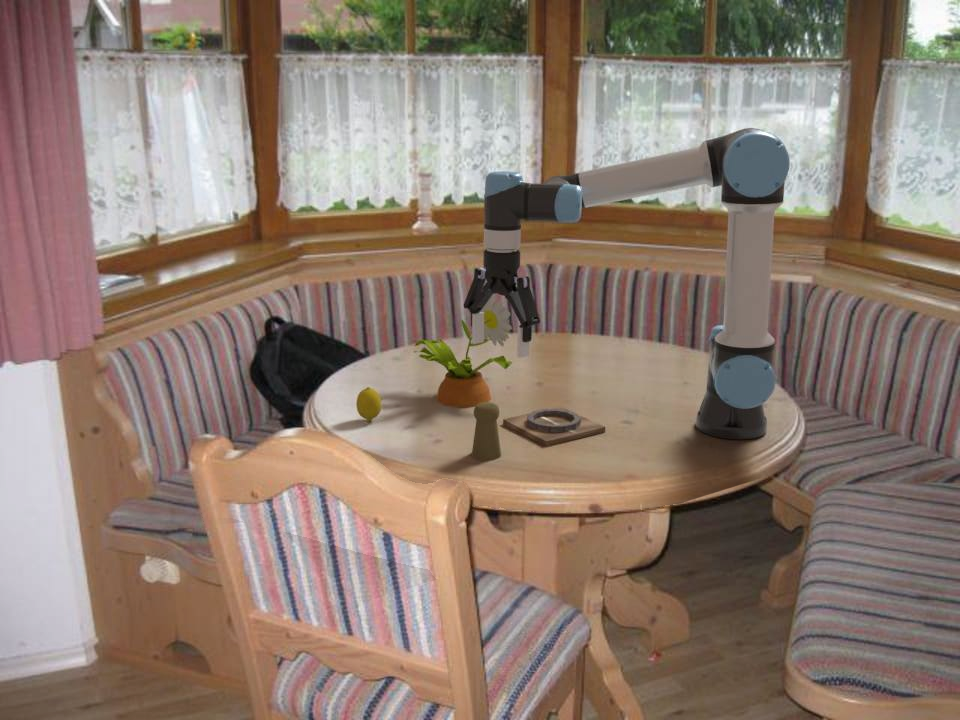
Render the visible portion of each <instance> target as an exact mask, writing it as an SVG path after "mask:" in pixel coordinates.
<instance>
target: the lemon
mask: <svg viewBox="0 0 960 720" xmlns="http://www.w3.org/2000/svg"><path fill="white" fill-rule="evenodd" d="M356 409H357V410H356V411H357V413H358V414H359V416H360V417H361V418H362V419H365V420H367V422H371V421H372V420H373V419H375V418H376V417H378V416H379V414H380V413H381V410H382V399H381V396H380V394H379V392H378V391H377V390H376V389H374V388H372V387H370V386H367V387H366V388H364V389H362V390H361V391H359V393H358V395H357V398H356Z"/></svg>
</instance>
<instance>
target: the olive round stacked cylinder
mask: <svg viewBox="0 0 960 720" xmlns="http://www.w3.org/2000/svg"><path fill="white" fill-rule="evenodd" d="M499 416H500V408H499V406H498V404H496V403H494V402H491V401H489V402H482V403H479V404H477V405H476V406H475V407H474V408H473V417H474V418H475V420H476V421H475V427H474V428H475V429H474V434H473V435H474V437H473V444H472V448H471V449H472V451H471V457H473V459H476V460H481V461H492V460H493V461H494V460H497V459H499V458H500V457H502V449H501V444H500V435H499V429H498V419H499Z"/></svg>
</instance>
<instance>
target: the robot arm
mask: <svg viewBox="0 0 960 720" xmlns="http://www.w3.org/2000/svg"><path fill="white" fill-rule="evenodd" d="M790 164H791V163H790V155H789V151H788V150H787V148H786V146H785V144H784V142H783V141H782V140H781V139H780V138H779V137H778V136H776V135H775V134H773V133H771V132H769V131H766V130H764V129H760V128H755V127H747V128H743V129H739V130H736V131H734V132H731V133H728V134H726V135H725V134H724V135H722V136H718V137H715V138H711V139H706V140H703V141H702V142H701V144H699V146H697V147H694V148H689V149H684V150H680V151H675V152H670V153H665V154H661V155H660V154H659V155H655V156H649V157H647V158H641V159H637V160H631V161H627V162H623V163H616V164H614V165H607V166H603V167H598V168H593V169H588V170H584V171H581V172H577V173H571V174H565V175H561V174H560V175H559V174H558V175H555V176H552V177H550V178H548V179H547V180H545V182H543V183H532V182H531V183H530V182H524V179H523V174H522V173H521V172H517V171H508V170H507V171H505V170H502V171H498V170H497V171H491V172H488V174H487V175H486V177H485V184H484V194H483V199H484V200H483V207H484V208H483V209H484V210H483V213H484V215H483V218H484V222H483V224H484V225H483V227H484V228H483V247H484V248H485V249H484V251H483V263H482V265H483V266H482V267H476V268H475V269H474V273H473V279H472V282H471V284H470V287H469V290H468V293H467V295H466V297H465V299H464V303H463V308H464V309H468V310H469V313H470V327H471V337H472V340H471V343H472V344H477V343H482V342H484V312H480V311H483V310H482V308H483V307H484V306H485V304H486V303H487V302H488V300H489V299H490V297H491V296H492V297H493V295H494V294H498V295H500V296H502V297H503V296H504V298H505V299H506V300H508V302H509V305H510V306H511V308H512V309H513V311H514V313H515V316H516V318H517V319H518V321H519V324H520V325H518V326H517V350H516V351H517V353H516V356H517V358H519V359H521V358H525V357H529V356H530V342H532V338H533V336H532V333H533V327H534V326H535V325H539V324H540V323H541V318H540V316H539V312H538V308H537V306H536V303H535V299H534V296H533V294H532V290H531V282H530V277H529V276H522V277H521V276H519V275H518V271H519V269H520V268H521V251H520V249H519V248H521V238H522V237H521V235H522V234H521V233H522V221H523V222H524V221H525V222H529V221H531V222H546V223H547V222H548V223H561V224H565V223H577V222H579V221H580V220H581V216H582V209H583V210H584V209H586V208H590V207H591V208H592V207H596V206H601V205H606V204H610V203H617V202H620V201H625V200H631V199H635V198H641V197H645V196H650V195H656V194H660V193H666V192H670V191H675V190H681V189H682V190H683V189H685V188H690V187H696V186H701V185H707V186H709V187H710V188H716V187H720V186H721V191H720V193H721V195H720V196H721V198H720V203H721V204H722V205H723V206H724V207H725V208H726V210H727V211H728V217H727V219H728V221H727V237H726V238H727V241H726V259H725V261H726V262H725V283H724V285H725V286H724V302H723V303H724V305H723V324H720V325H716V326H713V327H712V328H711V330H710V335H709V337H708V340H709V350H708V364H707V376H706V377H707V378H706V391H705V394H704V396H703V399H702V401H701V405H700V407H699V410H698V411H697V412H696V419H695V420H696V421H695V427H696V428H697V430H699V431H700V432H702V433H704V434H706V435H709V436H711V437H712V436H713V437H714V438H715V437H716V438H719V439H727V440H728V439H729V440H749V439H750V440H752V439H757V438H759V437H762V436H764V435H765V434H766V433H767V429H768V419H767V417H766V415H765V411H764V405H763V404H764V403H765V402H767V401H768V399H770V397H771V396H772V395H773V393H774V391H775V388H776V382H777V376H776V372H775V369H774V361H775V359H774V358H775V357H774V356H775V340H776V339H775V338H774V337H773V335H772V334H770V333H769V331H768V327H769V310H770V309H769V308H770V296H771V295H770V292H771V291H770V290H771V276H772V275H771V274H772V260H773V259H772V257H773V244H774V227H775V226H774V224H775V213H776V211H777V209H779V208H780V207H781V205H782V204H784V198H785V197H784V195H785V186H786V185H785V183H786V182H785V181H786V180H787V177H788V175H789V171H790Z"/></svg>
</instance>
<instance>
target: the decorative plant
mask: <svg viewBox="0 0 960 720" xmlns="http://www.w3.org/2000/svg"><path fill="white" fill-rule="evenodd" d="M482 310H483V311H480V312H484V342H482V343H477V344H472V335H471V334H470V330H469V328H468V326H467V324H466V323H465V321H464V320H463V319H461V327H462V329H463V331H464V333H465V335H466V337H467V339H468V340H469V341H468V344H467V349H466V352H465V359H462V360H461V361H460V362H459V361H458V360H457V358H456V356H455V355H454V352H453V350H452V349H451V347H450V345H448V344H446V343H445V342H444V341H443V339H440V338H439V339H435V340H433V339H432V338H430V340H426V339H420V340H417V341H416V342H415V344H414V347H417V346H420V345H425V346H427V348H426V347H425V346H423V348H422V349H421V350H419V351H418V350H413V354H415V353H420V354H419V356H418V358H422V359H425V360H426V361H429V362H436V363H437V364H439V365H441V366H444V368H445V369H446V370H447V372H446V373H445V375H444V379H443V380H442V381H441V383H440V384H439V386H438V389H437V395H436V397H435V398H436V402H437V403H439V404H441V405H442V406H447V407H451V408H473V407H474V408H475V406H476V405H477V404H479V403H482V402H491V401H492V396H491V393H490V388H489V386H488V383H487V382H486V380H485V379H484V378H483V374H482V372H480V371H479V370H481V369H483V368H484V367H485V366H488V365H489V364H491V363H493V362H495V363H497V364H498V365H499V366H501V367H502V368H504V370H507V369H508V368H509V367H510V366H511V365H512V364H513V362H512V361H510V360H507V359H506V357H505V356H504V355H500V356H499V357H498V356H496V357H490V358H489V359H487V360H486V361H484V362H483V363H481V364H480V365H478V366H477V367H476V368H474V369H473V368H472V367H473V364H472V362H471V361H473V359H472V358H470V357H469V356H468V355H469V351H470V347H477V346H481V345H483V344H485V343H488V342H489V341H491V342H492V344H493V346H497V343H498V344H499V345H500V346H501V347H504V344H505V343H504V342H507V340H508V339H510V336H509V334H508V333H510V330H513V327H512V325H511V324H510V320H509V319H508V318H509V317H510V316H511V312H510V311H507V310H506V307H505V306H504V301H499V300H498V299H496V300H493V295H492V296H491V297H490V299H489V300H488V302H487V303H486V304H485V306H484V307H483V308H482ZM423 353H424V354H423Z"/></svg>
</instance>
